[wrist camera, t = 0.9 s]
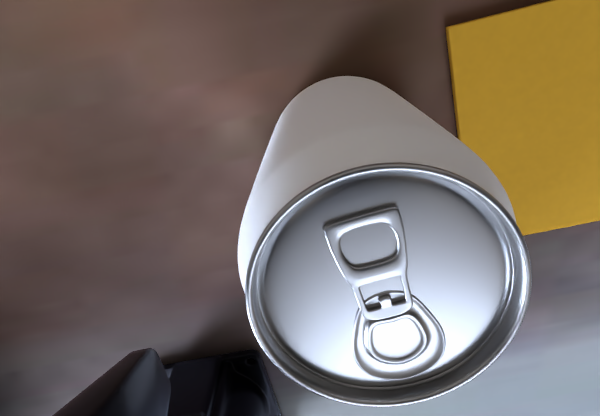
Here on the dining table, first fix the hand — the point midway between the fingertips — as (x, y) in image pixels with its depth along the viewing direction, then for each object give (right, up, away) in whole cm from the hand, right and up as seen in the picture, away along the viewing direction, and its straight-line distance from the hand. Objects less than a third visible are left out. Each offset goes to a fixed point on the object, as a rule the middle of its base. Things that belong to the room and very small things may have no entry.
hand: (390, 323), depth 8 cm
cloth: (+11, +6, +11) cm, 17 cm away
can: (0, +5, +12) cm, 13 cm away
